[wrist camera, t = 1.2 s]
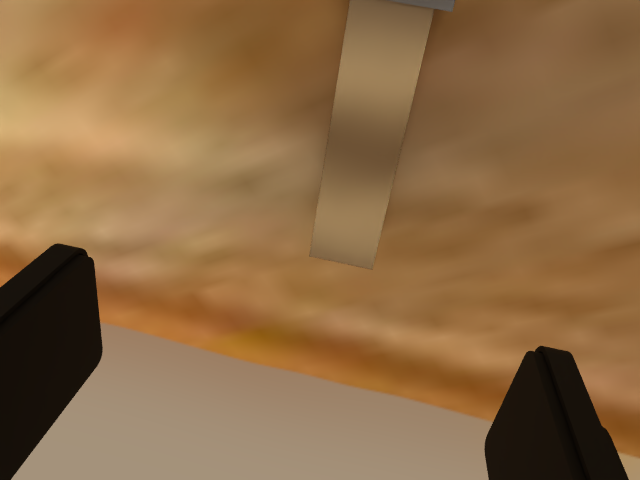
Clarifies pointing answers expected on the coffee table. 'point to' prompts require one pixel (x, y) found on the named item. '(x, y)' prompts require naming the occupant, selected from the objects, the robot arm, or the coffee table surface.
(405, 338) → the coffee table surface
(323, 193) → the bed rail
